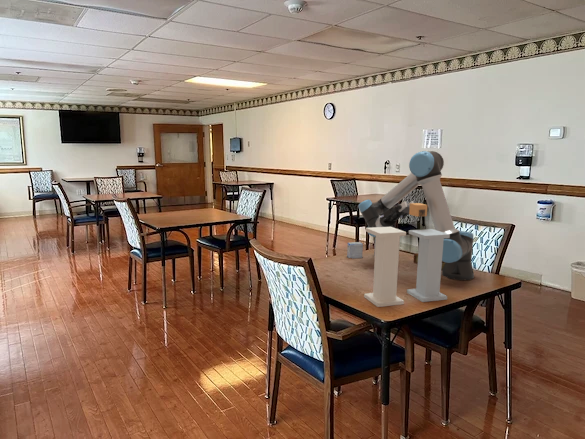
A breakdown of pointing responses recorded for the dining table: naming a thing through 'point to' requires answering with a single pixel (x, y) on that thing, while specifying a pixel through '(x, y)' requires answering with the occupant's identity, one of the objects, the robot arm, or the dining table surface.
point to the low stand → (429, 265)
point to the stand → (385, 266)
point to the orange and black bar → (415, 209)
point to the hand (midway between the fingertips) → (409, 203)
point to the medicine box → (354, 250)
